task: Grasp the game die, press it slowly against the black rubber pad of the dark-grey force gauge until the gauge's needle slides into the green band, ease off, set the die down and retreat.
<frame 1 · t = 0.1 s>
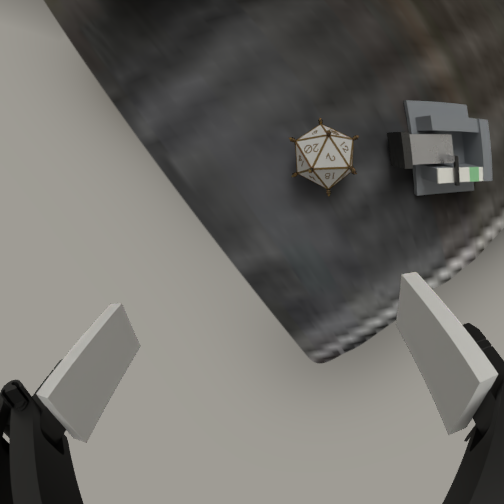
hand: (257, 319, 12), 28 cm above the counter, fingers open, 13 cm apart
game die: (319, 155, 35), on the counter
block with dark end: (426, 158, 30), point 4 cm above the counter, slide at 0.0 cm
gauge housing: (441, 147, 32), on the counter
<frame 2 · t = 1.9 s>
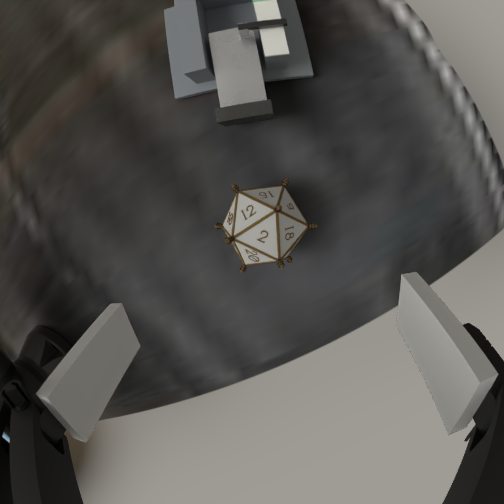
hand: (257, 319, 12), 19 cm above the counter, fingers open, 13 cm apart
game die: (265, 214, 30), on the counter
block with dark end: (252, 70, 20), point 4 cm above the counter, slide at 0.0 cm
gauge housing: (234, 37, 22), on the counter
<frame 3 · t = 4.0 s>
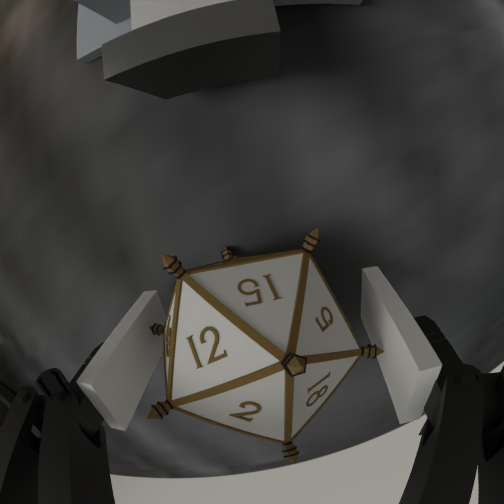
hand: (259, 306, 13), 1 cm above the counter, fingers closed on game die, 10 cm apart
game die: (260, 291, 14), on the counter, touching gripper
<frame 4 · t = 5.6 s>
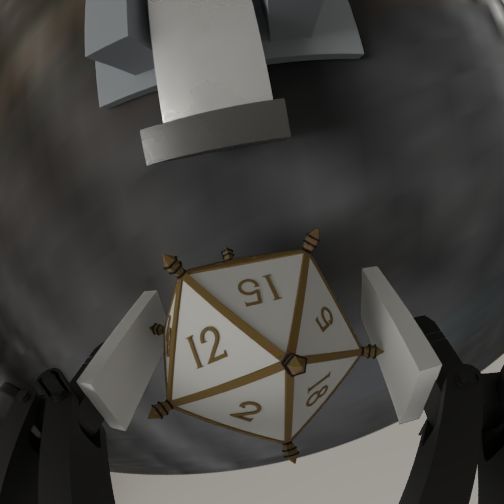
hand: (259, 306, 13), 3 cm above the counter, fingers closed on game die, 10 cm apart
game die: (260, 291, 14), point 2 cm above the counter, touching gripper
block with dark end: (238, 32, 8), point 4 cm above the counter, slide at 0.0 cm
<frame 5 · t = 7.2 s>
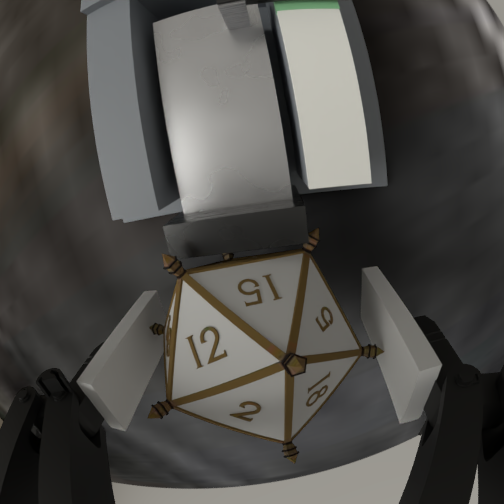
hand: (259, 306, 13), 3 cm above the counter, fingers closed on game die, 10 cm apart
game die: (260, 291, 14), point 2 cm above the counter, touching gripper
block with dark end: (256, 108, 9), point 4 cm above the counter, slide at 3.5 cm
gauge housing: (230, 85, 12), on the counter
when the fingers open (2 cm above the counter, at t = 9.0 s): game die stays where it is, on the counter.
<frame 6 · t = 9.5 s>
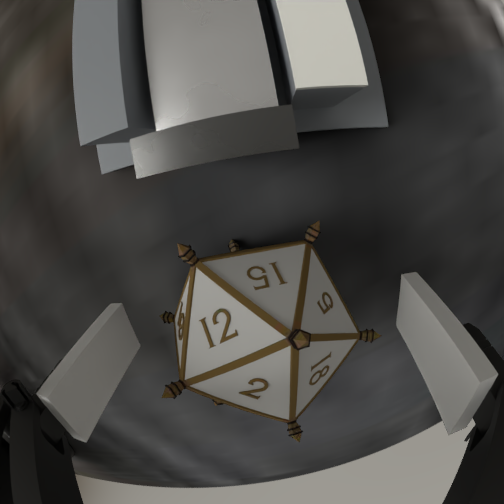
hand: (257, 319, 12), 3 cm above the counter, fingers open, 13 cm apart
game die: (264, 282, 15), on the counter
block with dark end: (240, 29, 7), point 4 cm above the counter, slide at 3.5 cm
gauge housing: (218, 31, 10), on the counter
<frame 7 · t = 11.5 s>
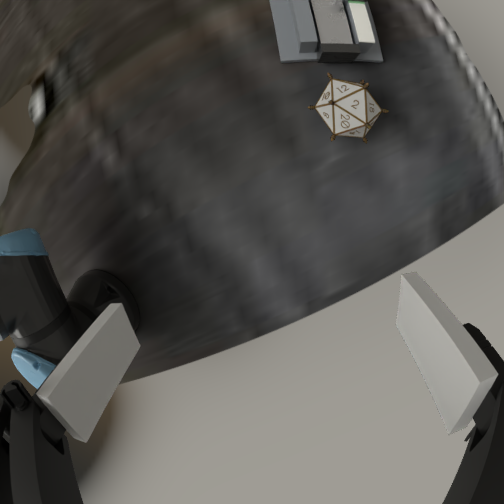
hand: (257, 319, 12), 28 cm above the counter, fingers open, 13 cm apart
game die: (341, 111, 32), on the counter
block with dark end: (342, 26, 24), point 4 cm above the counter, slide at 3.5 cm
gauge housing: (325, 24, 27), on the counter
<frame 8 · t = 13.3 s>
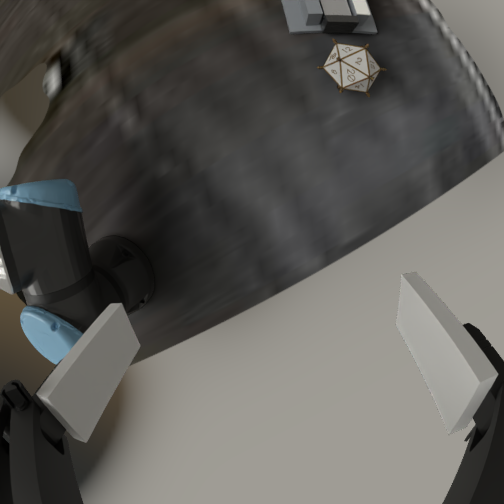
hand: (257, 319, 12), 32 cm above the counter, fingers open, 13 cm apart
game die: (345, 74, 33), on the counter
block with dark end: (341, 3, 25), point 4 cm above the counter, slide at 3.5 cm
gauge housing: (326, 3, 29), on the counter
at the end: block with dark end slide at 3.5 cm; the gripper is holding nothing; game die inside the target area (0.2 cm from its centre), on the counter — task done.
